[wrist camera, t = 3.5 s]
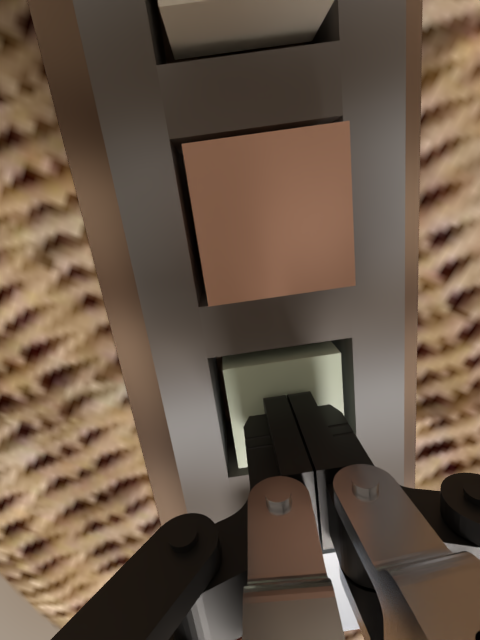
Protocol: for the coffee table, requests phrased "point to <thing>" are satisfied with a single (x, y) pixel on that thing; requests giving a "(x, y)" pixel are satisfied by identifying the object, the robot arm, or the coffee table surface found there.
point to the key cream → (239, 24)
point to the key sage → (279, 381)
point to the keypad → (180, 234)
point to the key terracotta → (273, 212)
